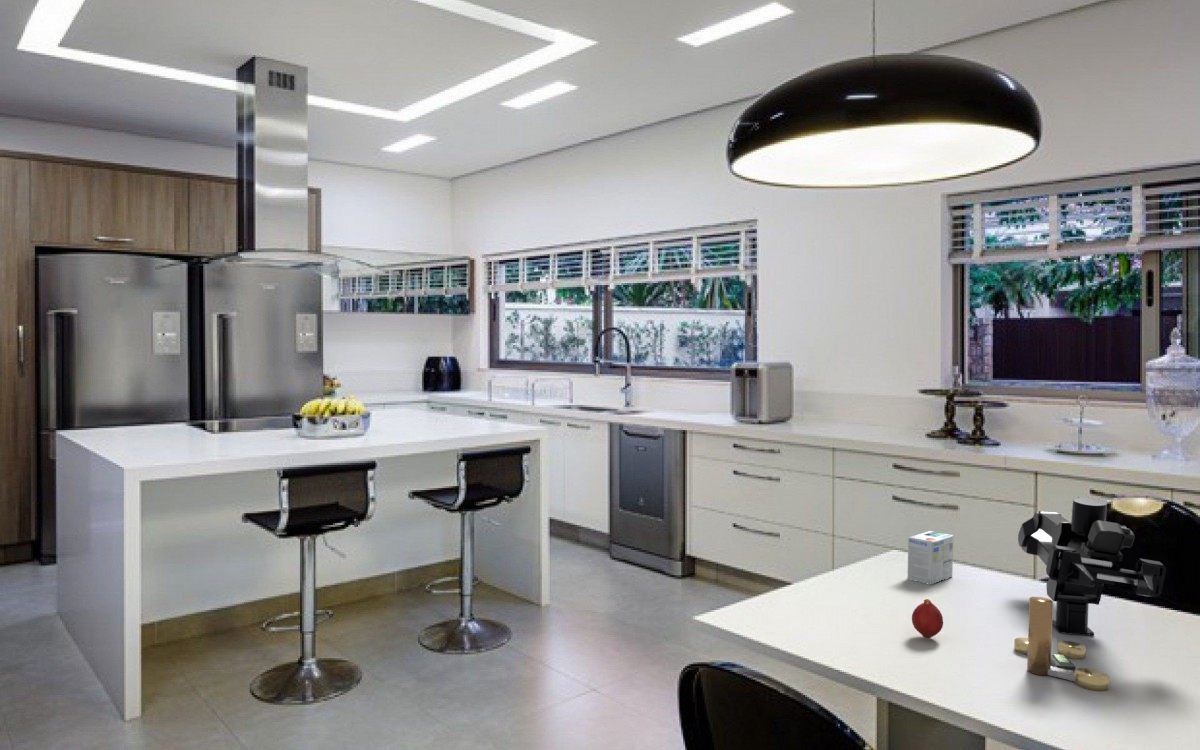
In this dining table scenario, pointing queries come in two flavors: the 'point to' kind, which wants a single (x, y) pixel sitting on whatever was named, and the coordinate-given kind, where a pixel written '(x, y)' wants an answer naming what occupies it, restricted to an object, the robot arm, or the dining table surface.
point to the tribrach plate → (1064, 652)
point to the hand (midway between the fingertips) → (1122, 588)
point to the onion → (927, 619)
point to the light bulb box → (930, 557)
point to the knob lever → (1042, 649)
